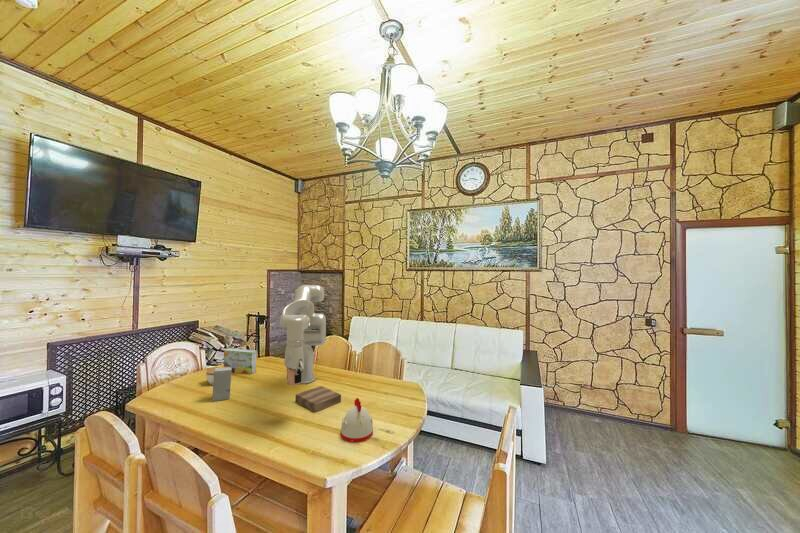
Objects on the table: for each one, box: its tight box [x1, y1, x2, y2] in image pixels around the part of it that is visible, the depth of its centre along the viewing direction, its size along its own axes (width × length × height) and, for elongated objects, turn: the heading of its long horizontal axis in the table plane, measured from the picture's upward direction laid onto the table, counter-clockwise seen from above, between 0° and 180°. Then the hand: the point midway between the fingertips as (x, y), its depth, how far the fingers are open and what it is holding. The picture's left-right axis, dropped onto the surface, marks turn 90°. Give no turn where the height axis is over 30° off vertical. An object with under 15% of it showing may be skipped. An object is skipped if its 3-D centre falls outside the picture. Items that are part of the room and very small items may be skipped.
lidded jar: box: [205, 367, 219, 386], centre depth 182 cm, size 11×11×9 cm
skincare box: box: [211, 366, 232, 402], centre depth 162 cm, size 8×7×16 cm
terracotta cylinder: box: [286, 367, 301, 386], centre depth 144 cm, size 6×6×7 cm
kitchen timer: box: [340, 397, 374, 443], centre depth 131 cm, size 14×14×15 cm
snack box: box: [223, 347, 257, 375], centre depth 203 cm, size 21×6×15 cm, turn 81°
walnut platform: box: [295, 385, 342, 413], centre depth 160 cm, size 18×16×4 cm
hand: (294, 380), depth 144 cm, fingers closed on terracotta cylinder, 6 cm apart
